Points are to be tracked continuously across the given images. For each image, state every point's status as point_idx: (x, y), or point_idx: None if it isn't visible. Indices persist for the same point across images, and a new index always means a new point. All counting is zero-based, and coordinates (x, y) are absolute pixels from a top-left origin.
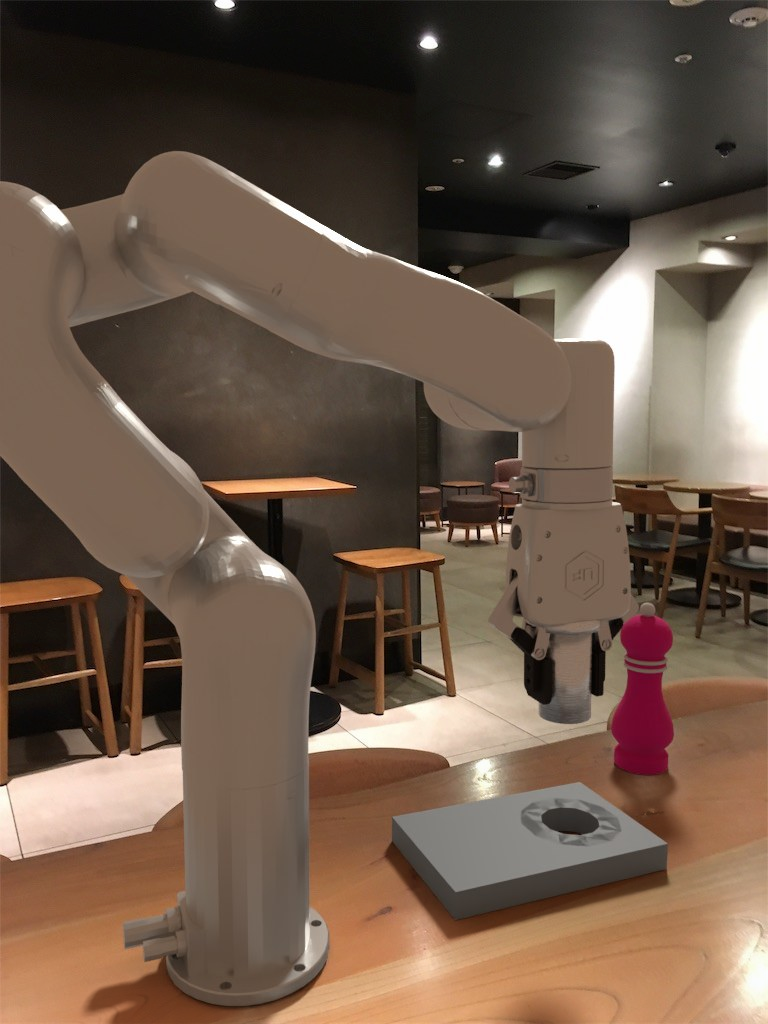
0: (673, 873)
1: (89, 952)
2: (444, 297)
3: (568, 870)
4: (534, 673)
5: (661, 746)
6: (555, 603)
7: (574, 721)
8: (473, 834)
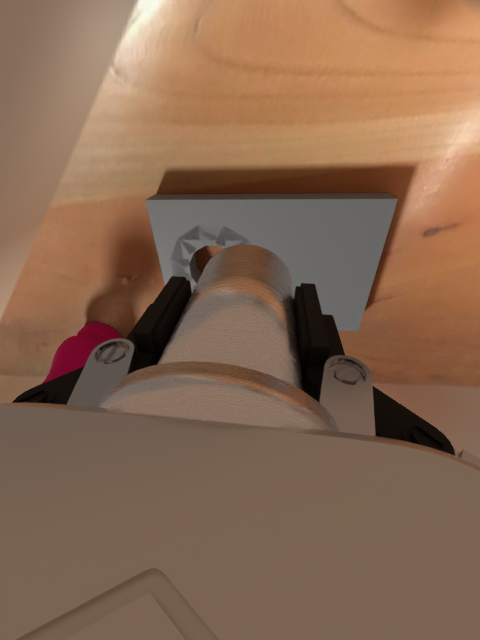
0: (153, 185)
1: None
2: None
3: (263, 198)
4: (337, 339)
5: (80, 335)
6: (424, 612)
7: (255, 247)
8: (312, 282)
